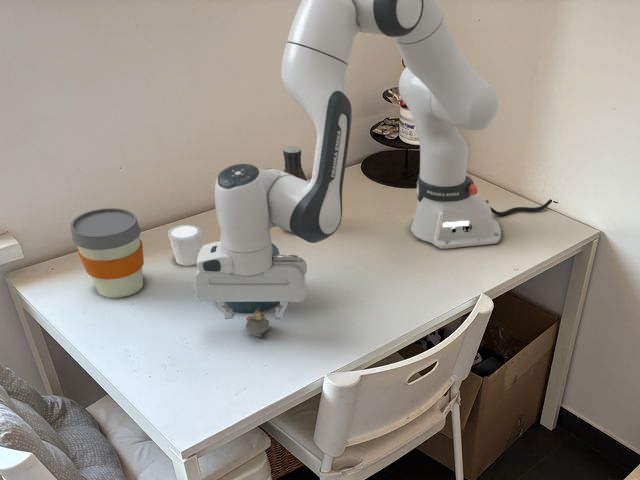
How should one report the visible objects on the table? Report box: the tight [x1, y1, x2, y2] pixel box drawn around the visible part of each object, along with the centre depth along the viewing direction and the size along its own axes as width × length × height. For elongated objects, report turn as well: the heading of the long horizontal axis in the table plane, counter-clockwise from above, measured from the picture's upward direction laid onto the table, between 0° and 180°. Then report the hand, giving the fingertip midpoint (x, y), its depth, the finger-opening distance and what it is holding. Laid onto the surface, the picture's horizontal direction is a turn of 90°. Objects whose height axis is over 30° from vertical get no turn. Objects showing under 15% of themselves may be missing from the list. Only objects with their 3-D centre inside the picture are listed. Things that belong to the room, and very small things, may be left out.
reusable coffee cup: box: [69, 207, 145, 299], centre depth 144 cm, size 12×13×15 cm
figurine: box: [245, 307, 270, 338], centre depth 137 cm, size 5×4×6 cm
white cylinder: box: [167, 224, 203, 267], centre depth 157 cm, size 7×7×7 cm
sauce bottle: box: [282, 146, 308, 233], centre depth 168 cm, size 6×6×20 cm
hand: (255, 317), depth 137 cm, fingers open, 8 cm apart
